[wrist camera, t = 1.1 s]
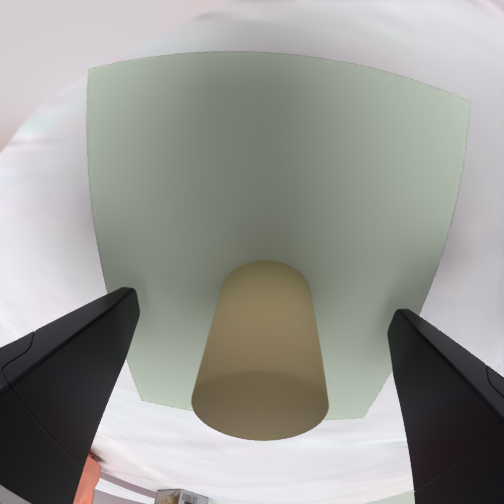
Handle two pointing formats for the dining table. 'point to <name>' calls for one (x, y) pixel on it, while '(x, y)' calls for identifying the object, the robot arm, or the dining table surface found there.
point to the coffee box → (179, 497)
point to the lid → (268, 226)
